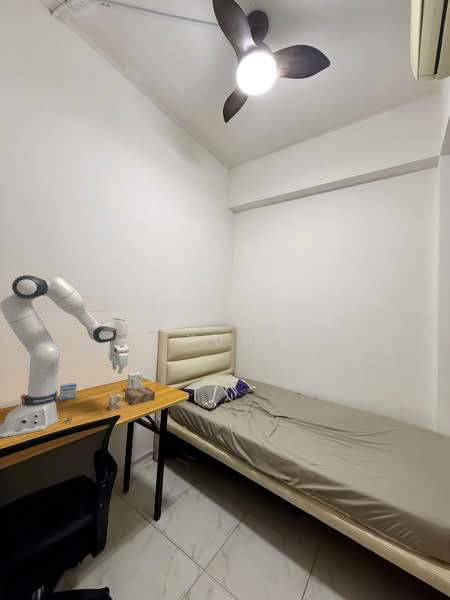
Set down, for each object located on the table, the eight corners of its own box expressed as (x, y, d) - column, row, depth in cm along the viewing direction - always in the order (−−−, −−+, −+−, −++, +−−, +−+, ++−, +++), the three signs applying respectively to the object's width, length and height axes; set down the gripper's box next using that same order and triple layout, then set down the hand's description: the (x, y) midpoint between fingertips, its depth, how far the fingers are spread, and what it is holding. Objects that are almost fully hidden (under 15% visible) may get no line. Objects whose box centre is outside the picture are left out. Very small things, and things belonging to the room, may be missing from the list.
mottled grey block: (111, 410, 130) (112, 398, 130) (108, 407, 134) (109, 395, 134) (120, 408, 133) (121, 396, 134) (117, 405, 137) (118, 393, 137)
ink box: (128, 393, 157) (129, 375, 157) (126, 390, 161) (127, 373, 161) (141, 390, 162) (142, 373, 162) (139, 388, 166) (140, 371, 166)
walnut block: (131, 405, 138) (132, 397, 138) (124, 399, 147) (125, 391, 147) (154, 400, 147) (154, 392, 148) (146, 394, 156) (146, 387, 156)
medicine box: (60, 401, 139) (61, 386, 140) (59, 398, 143) (60, 384, 143) (75, 398, 144) (76, 384, 145) (74, 396, 148) (75, 382, 148)
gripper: (106, 344, 140) (105, 368, 140) (118, 350, 125) (117, 376, 125) (117, 344, 144) (116, 366, 144) (130, 349, 129) (129, 374, 129)
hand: (117, 371), depth 134 cm, fingers open, 8 cm apart
